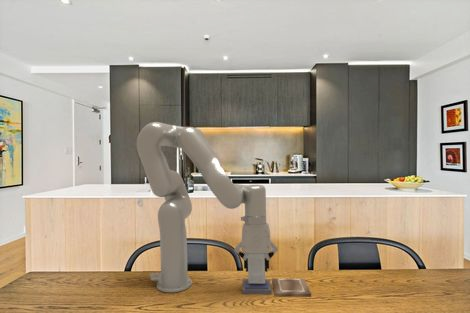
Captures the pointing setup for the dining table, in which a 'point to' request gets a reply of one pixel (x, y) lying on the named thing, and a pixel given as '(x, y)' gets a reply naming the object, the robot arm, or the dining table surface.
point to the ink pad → (256, 287)
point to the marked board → (291, 287)
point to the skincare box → (256, 268)
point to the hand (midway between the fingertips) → (256, 269)
